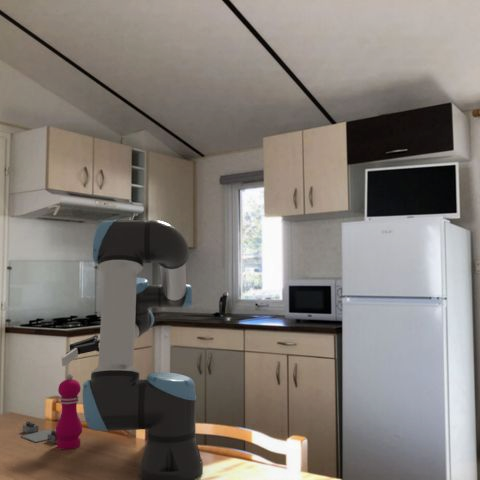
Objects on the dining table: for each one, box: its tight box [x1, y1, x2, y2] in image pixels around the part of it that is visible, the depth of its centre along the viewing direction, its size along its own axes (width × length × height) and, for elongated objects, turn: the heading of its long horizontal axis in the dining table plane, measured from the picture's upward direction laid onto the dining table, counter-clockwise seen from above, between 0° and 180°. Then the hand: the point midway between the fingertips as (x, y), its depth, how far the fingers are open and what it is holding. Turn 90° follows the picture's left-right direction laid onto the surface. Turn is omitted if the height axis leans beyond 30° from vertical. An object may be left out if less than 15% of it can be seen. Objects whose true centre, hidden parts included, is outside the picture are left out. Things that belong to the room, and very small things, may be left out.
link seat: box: [20, 429, 53, 444], centre depth 165 cm, size 9×9×1 cm
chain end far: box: [22, 421, 40, 435], centre depth 170 cm, size 4×3×3 cm
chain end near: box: [47, 429, 59, 445], centre depth 160 cm, size 4×3×3 cm
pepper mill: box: [55, 373, 83, 450], centre depth 156 cm, size 7×7×20 cm
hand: (82, 366), depth 159 cm, fingers open, 13 cm apart
